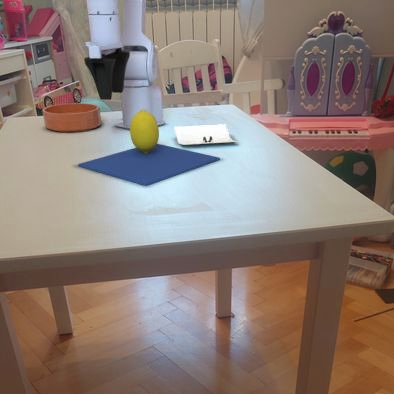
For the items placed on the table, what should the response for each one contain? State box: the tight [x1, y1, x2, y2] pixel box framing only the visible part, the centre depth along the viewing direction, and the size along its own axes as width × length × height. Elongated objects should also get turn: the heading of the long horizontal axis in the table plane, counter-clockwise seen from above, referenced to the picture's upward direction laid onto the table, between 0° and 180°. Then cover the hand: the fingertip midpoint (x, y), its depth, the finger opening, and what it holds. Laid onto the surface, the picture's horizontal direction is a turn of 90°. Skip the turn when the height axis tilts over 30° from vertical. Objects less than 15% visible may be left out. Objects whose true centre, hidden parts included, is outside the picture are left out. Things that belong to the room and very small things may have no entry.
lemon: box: [129, 110, 160, 154], centre depth 95 cm, size 6×6×8 cm
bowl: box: [42, 102, 102, 133], centre depth 117 cm, size 13×13×4 cm
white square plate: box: [173, 123, 240, 146], centre depth 106 cm, size 12×12×2 cm
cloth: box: [77, 143, 221, 187], centre depth 93 cm, size 20×18×1 cm
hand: (111, 95), depth 99 cm, fingers open, 7 cm apart
